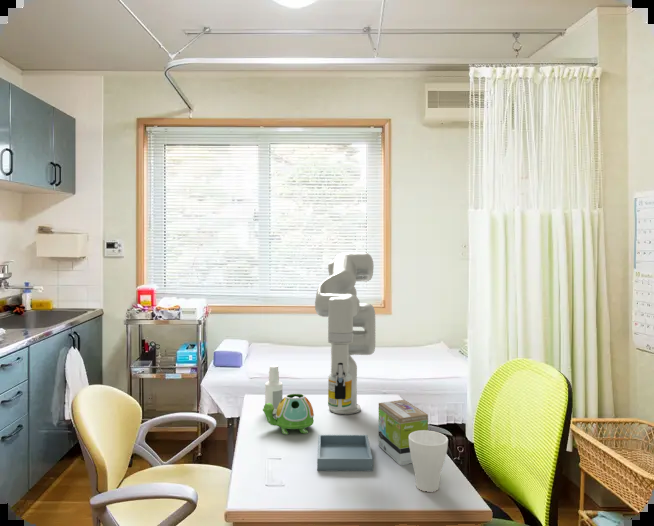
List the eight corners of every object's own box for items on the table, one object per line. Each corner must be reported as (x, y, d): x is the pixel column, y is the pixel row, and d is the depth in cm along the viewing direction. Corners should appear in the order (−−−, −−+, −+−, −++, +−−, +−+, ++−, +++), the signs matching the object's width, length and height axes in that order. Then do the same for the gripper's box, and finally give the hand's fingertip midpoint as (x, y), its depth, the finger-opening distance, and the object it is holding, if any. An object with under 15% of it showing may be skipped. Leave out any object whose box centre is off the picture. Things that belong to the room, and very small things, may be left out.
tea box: (377, 446, 157) (377, 401, 157) (404, 442, 161) (405, 398, 160) (399, 466, 143) (400, 417, 143) (428, 461, 147) (429, 413, 146)
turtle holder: (263, 423, 177) (263, 391, 177) (312, 422, 179) (313, 390, 179) (262, 436, 165) (262, 401, 165) (315, 435, 167) (315, 400, 166)
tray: (318, 445, 158) (318, 434, 158) (367, 445, 158) (367, 434, 158) (317, 470, 140) (317, 458, 140) (372, 471, 140) (372, 459, 140)
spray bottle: (281, 414, 186) (281, 368, 186) (263, 414, 187) (263, 368, 186) (283, 408, 193) (283, 364, 193) (266, 408, 193) (266, 363, 193)
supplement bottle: (327, 410, 145) (328, 368, 145) (328, 402, 152) (328, 362, 152) (351, 410, 145) (352, 368, 145) (351, 403, 152) (351, 362, 152)
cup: (454, 493, 128) (455, 443, 127) (418, 499, 125) (419, 447, 124) (435, 475, 138) (435, 428, 137) (401, 480, 135) (401, 432, 134)
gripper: (328, 332, 157) (328, 386, 157) (327, 343, 139) (327, 403, 140) (351, 332, 157) (351, 386, 157) (353, 343, 139) (353, 404, 140)
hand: (339, 394), depth 149 cm, fingers closed on supplement bottle, 7 cm apart
